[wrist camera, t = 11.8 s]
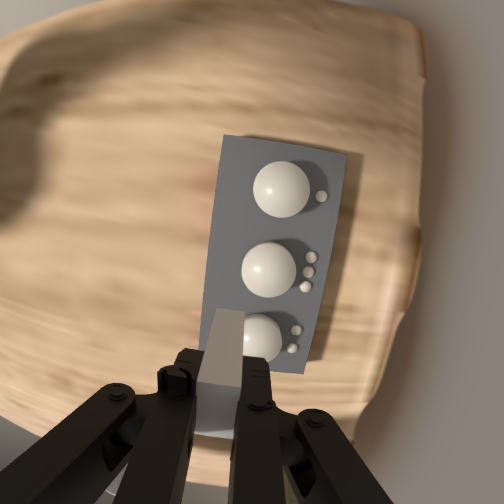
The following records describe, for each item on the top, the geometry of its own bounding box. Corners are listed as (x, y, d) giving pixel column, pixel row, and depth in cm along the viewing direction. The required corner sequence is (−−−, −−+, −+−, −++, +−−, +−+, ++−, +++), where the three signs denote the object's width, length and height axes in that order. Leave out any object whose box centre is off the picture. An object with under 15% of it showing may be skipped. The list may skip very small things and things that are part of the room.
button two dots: (231, 343, 34) (229, 360, 30) (237, 303, 33) (234, 317, 29) (275, 348, 34) (277, 366, 30) (283, 309, 33) (286, 324, 29)
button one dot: (250, 210, 31) (249, 213, 27) (257, 161, 30) (257, 157, 26) (299, 217, 31) (305, 221, 27) (306, 169, 30) (313, 166, 26)
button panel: (201, 350, 35) (197, 362, 32) (226, 138, 30) (223, 134, 27) (300, 362, 35) (303, 375, 32) (340, 157, 30) (348, 154, 27)
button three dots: (240, 281, 32) (238, 293, 28) (246, 234, 31) (245, 240, 27) (287, 287, 32) (290, 300, 28) (295, 241, 31) (300, 248, 27)
